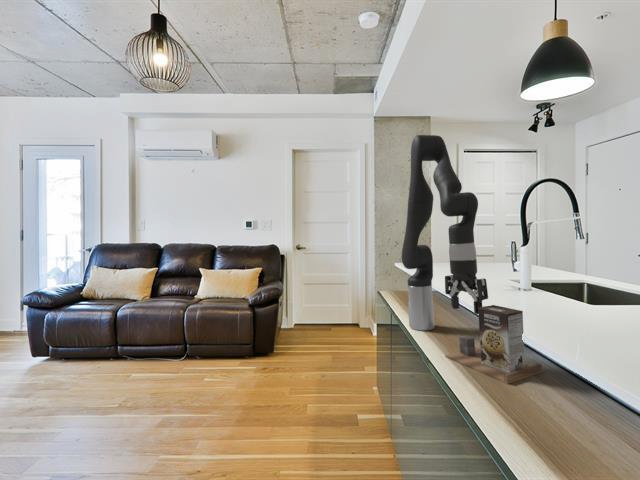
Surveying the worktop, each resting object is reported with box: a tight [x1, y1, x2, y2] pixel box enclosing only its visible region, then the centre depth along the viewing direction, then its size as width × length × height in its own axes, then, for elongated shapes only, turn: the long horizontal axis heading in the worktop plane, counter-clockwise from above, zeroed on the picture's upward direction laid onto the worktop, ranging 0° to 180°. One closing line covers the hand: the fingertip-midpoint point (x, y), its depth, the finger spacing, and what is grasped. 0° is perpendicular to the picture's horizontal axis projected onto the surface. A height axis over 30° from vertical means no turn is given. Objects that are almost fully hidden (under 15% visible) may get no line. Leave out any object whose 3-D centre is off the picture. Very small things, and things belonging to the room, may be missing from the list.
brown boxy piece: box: [477, 304, 526, 374], centre depth 89 cm, size 9×6×16 cm
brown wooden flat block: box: [444, 335, 543, 385], centre depth 93 cm, size 21×13×6 cm, turn 22°
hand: (466, 311), depth 100 cm, fingers open, 8 cm apart
